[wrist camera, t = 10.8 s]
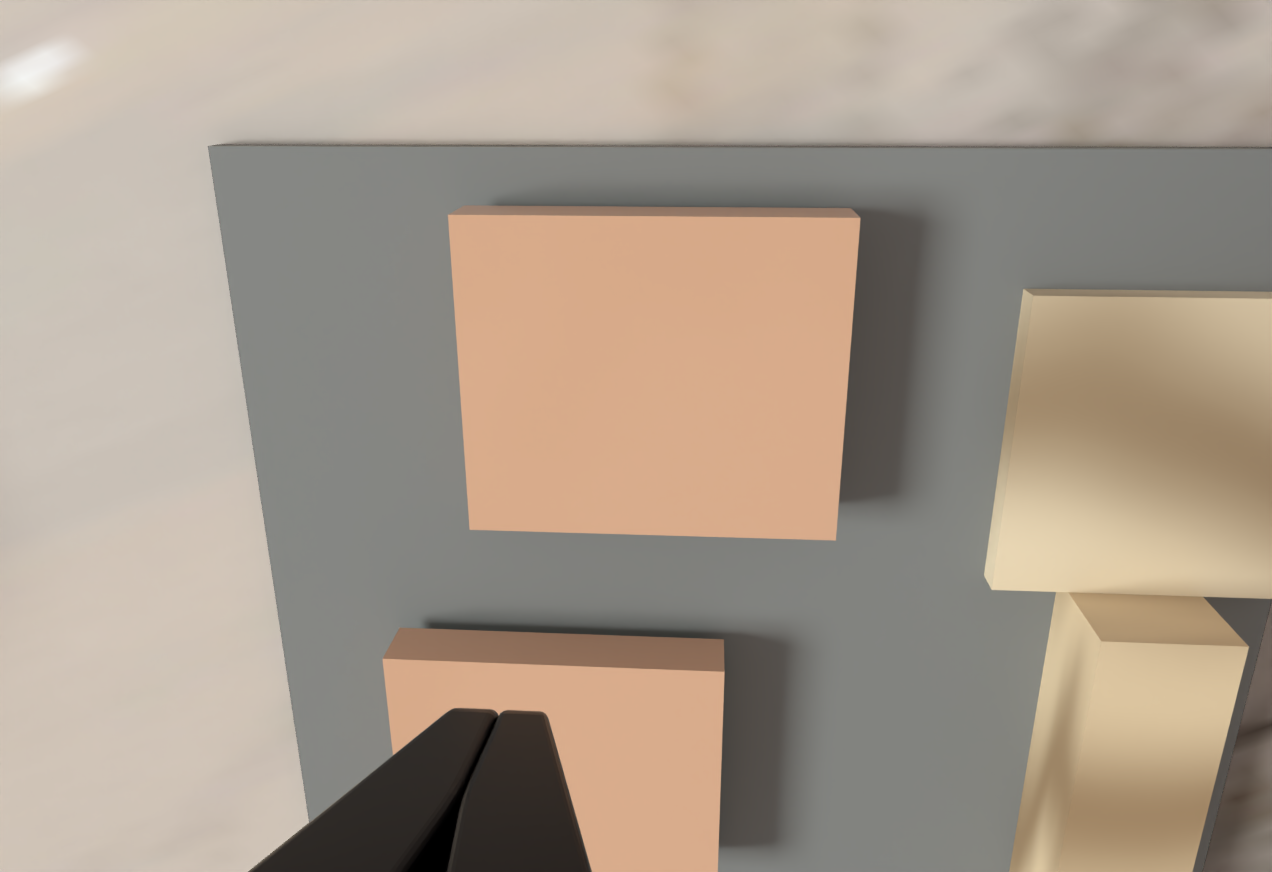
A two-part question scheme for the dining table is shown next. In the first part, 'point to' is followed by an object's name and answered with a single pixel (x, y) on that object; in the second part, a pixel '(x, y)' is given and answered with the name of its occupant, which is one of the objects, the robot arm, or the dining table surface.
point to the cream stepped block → (1133, 558)
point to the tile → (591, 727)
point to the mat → (712, 566)
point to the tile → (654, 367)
